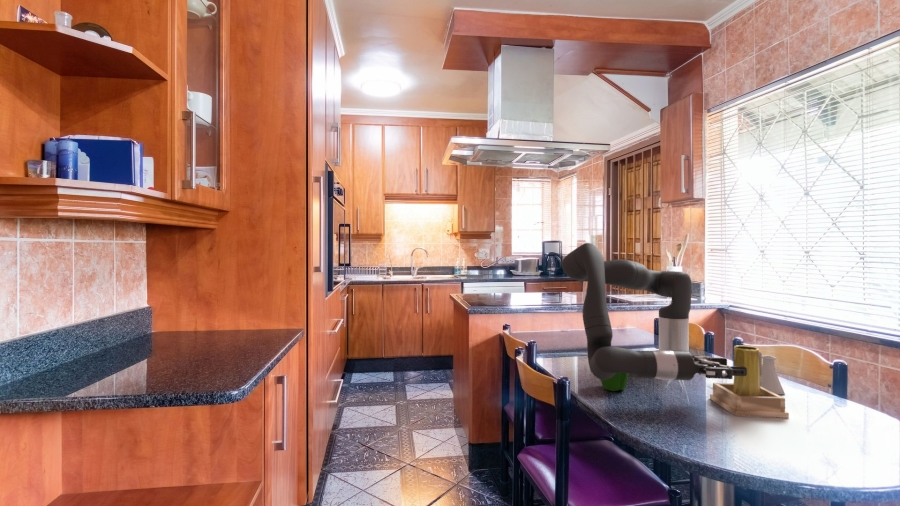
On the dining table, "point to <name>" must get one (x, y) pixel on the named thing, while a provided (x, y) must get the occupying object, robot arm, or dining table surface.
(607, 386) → the bell pepper
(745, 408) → the stand
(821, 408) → the dining table surface
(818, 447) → the dining table surface
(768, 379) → the flask
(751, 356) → the vase
